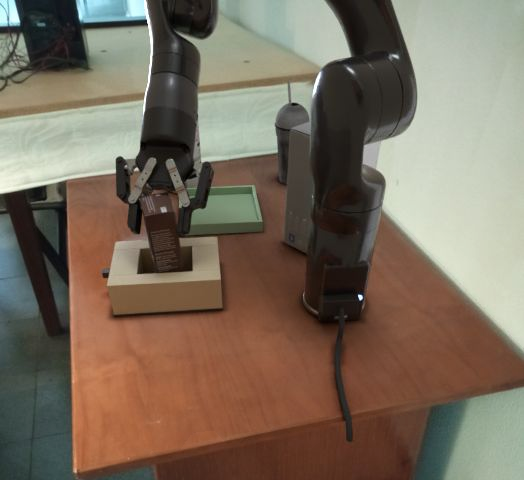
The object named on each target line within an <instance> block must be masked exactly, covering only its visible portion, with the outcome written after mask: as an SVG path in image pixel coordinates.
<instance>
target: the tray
mask: <svg viewBox="0 0 524 480" xmlns="http://www.w3.org/2000/svg"><path fill="white" fill-rule="evenodd" d="M187 190H188V192H189V195H190V198H194V197H195V194H196V190H197V188H187ZM181 207H182V204H181V202H180V199H179V198H178V209H179V208H181ZM263 221H264V220H263V216H262V212H261V208H260V204H259V200H258V194H257V190H256V186H255V185H254V184H251V185H247V184H246V185H230V186H229V185H227V186H225V185H224V186H211V188H210V193H209V197H208V201H207V205H206V207H205V208H204V209H196V210H194V211H193V212H192V218H191V228H190V232H189V234H186V236H202V235H203V236H205V235H221V234H241V233H263V231H264V230H263V229H264V227H263V226H264V222H263Z"/></svg>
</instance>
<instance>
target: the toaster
mask: <svg viewBox="0 0 524 480" xmlns="http://www.w3.org/2000/svg"><path fill="white" fill-rule="evenodd" d="M179 240H180V247H181V253H182V260H183V266H184V272H171V273H155V270H154V267H153V262H152V258H151V253H150V248H149V242H148V239H142V240H123V241H115V243H114V248H113V253H112V258H111V263H110V267H109V268H102V272H101V274H102V278H103V279H107V283H106V288H107V293H108V296H109V297H108V298H109V301H110V304H111V309H112V316H113V317H114V318H117V317H131V316H132V317H133V316H147V315H148V316H149V315H163V314H165V315H166V314H179V313H193V312H194V313H195V312H196V313H197V312H209V311H210V312H211V311H223V310H224V304H223V303H224V301H223V290H222V278H221V277H222V276H221V266H220V255H219V254H220V253H219V243H218V236H203V237H201V236H200V237H185V238H180V237H179Z"/></svg>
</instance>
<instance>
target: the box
mask: <svg viewBox="0 0 524 480" xmlns="http://www.w3.org/2000/svg"><path fill="white" fill-rule="evenodd" d="M140 202H141V209H142V212H143V213H142V218H143V222H144V226H145V231H146V236H147V237H146V238H147V240H148V242H149V248H150V253H151V258H152V262H153V267H154V270H155V273H171V272H184V266H183V260H182V253H181V247H180V240H179V239H180V237H179V236H178V235H177V225H178V220H177V216H176V210H175V208H174V205H173V200H172V199H171V197H170V195H169V192H167V191H166V192H158V193H152V194H151V195H145V196H141V197H140Z"/></svg>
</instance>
